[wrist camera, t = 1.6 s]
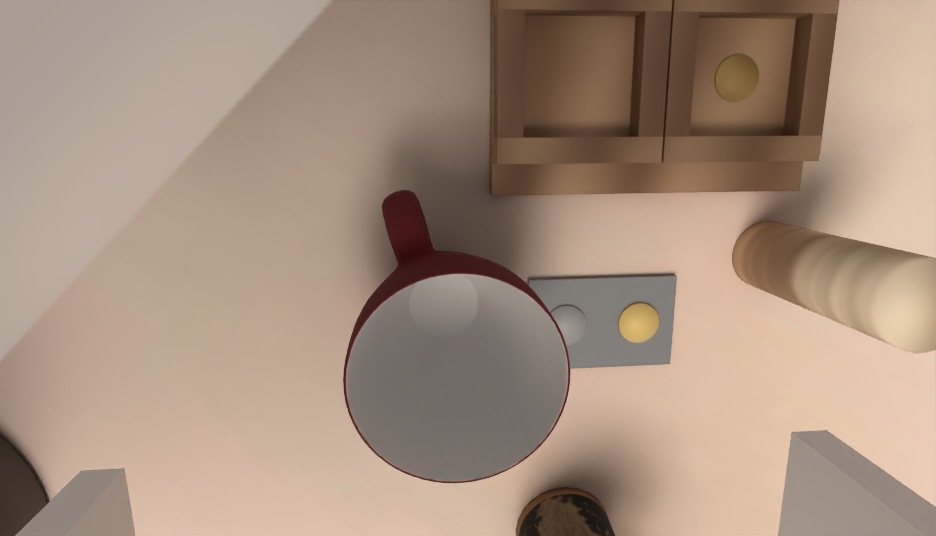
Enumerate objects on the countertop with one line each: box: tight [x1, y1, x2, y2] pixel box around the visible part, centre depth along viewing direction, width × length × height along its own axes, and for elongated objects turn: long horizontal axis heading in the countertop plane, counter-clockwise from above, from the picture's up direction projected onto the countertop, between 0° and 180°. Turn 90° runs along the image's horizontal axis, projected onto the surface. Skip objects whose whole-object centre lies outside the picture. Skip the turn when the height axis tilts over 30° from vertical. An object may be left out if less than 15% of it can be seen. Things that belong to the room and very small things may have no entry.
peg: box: [732, 221, 936, 353], centre depth 26 cm, size 4×4×10 cm
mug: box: [343, 190, 570, 483], centre depth 24 cm, size 11×8×10 cm
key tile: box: [528, 275, 677, 369], centre depth 30 cm, size 8×5×1 cm, turn 90°
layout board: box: [490, 0, 839, 196], centre depth 27 cm, size 16×11×2 cm
